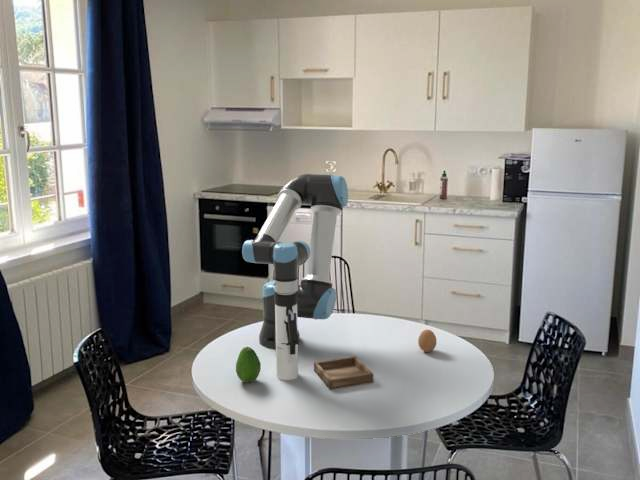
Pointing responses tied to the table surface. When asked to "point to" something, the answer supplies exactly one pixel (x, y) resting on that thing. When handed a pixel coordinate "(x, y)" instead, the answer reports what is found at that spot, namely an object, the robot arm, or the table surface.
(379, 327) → the table surface
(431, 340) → the egg
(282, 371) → the cylindrical container
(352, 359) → the tray
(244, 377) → the avocado
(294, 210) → the robot arm
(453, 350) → the table surface
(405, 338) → the table surface
